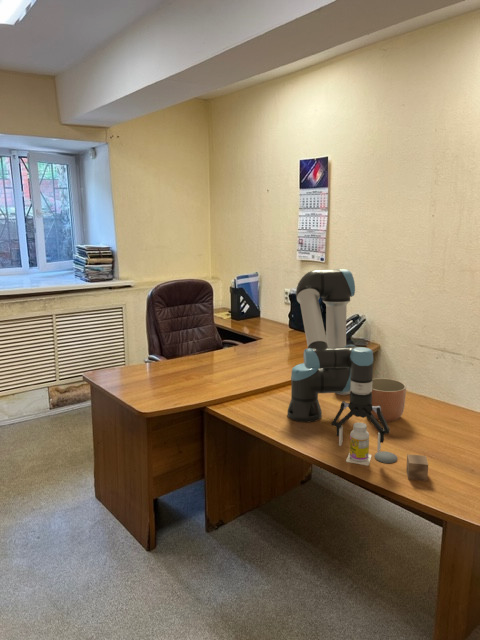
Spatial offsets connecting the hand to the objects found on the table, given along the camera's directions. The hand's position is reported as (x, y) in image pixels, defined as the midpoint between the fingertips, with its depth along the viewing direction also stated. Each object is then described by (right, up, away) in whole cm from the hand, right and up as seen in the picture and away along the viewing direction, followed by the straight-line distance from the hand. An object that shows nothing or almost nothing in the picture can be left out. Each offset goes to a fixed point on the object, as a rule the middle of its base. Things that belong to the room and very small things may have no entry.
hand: (359, 447), depth 169 cm
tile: (0, -4, +1) cm, 5 cm away
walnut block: (+17, -7, -11) cm, 21 cm away
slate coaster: (+10, -4, +1) cm, 11 cm away
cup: (+9, +10, +67) cm, 68 cm away
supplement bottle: (0, -4, +1) cm, 5 cm away
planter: (+20, +3, +35) cm, 41 cm away
